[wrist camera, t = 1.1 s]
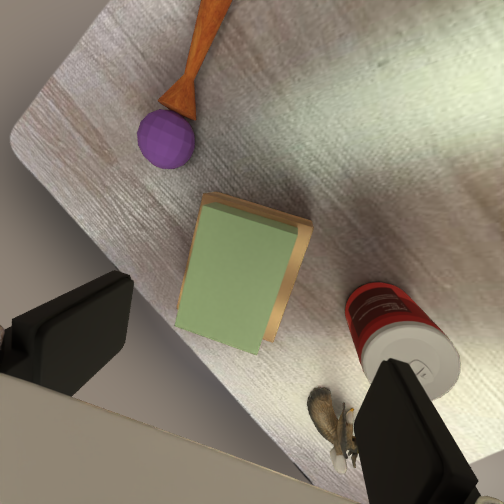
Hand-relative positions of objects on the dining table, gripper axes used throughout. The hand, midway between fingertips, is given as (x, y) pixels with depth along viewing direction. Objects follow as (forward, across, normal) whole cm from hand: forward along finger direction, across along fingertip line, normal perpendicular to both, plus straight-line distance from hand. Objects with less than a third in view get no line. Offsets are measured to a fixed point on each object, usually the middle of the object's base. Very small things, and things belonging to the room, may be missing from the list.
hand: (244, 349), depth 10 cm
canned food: (+25, -14, +6) cm, 29 cm away
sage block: (+20, +3, +5) cm, 21 cm away
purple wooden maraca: (+25, +14, -14) cm, 32 cm away
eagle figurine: (+25, -14, +22) cm, 37 cm away
